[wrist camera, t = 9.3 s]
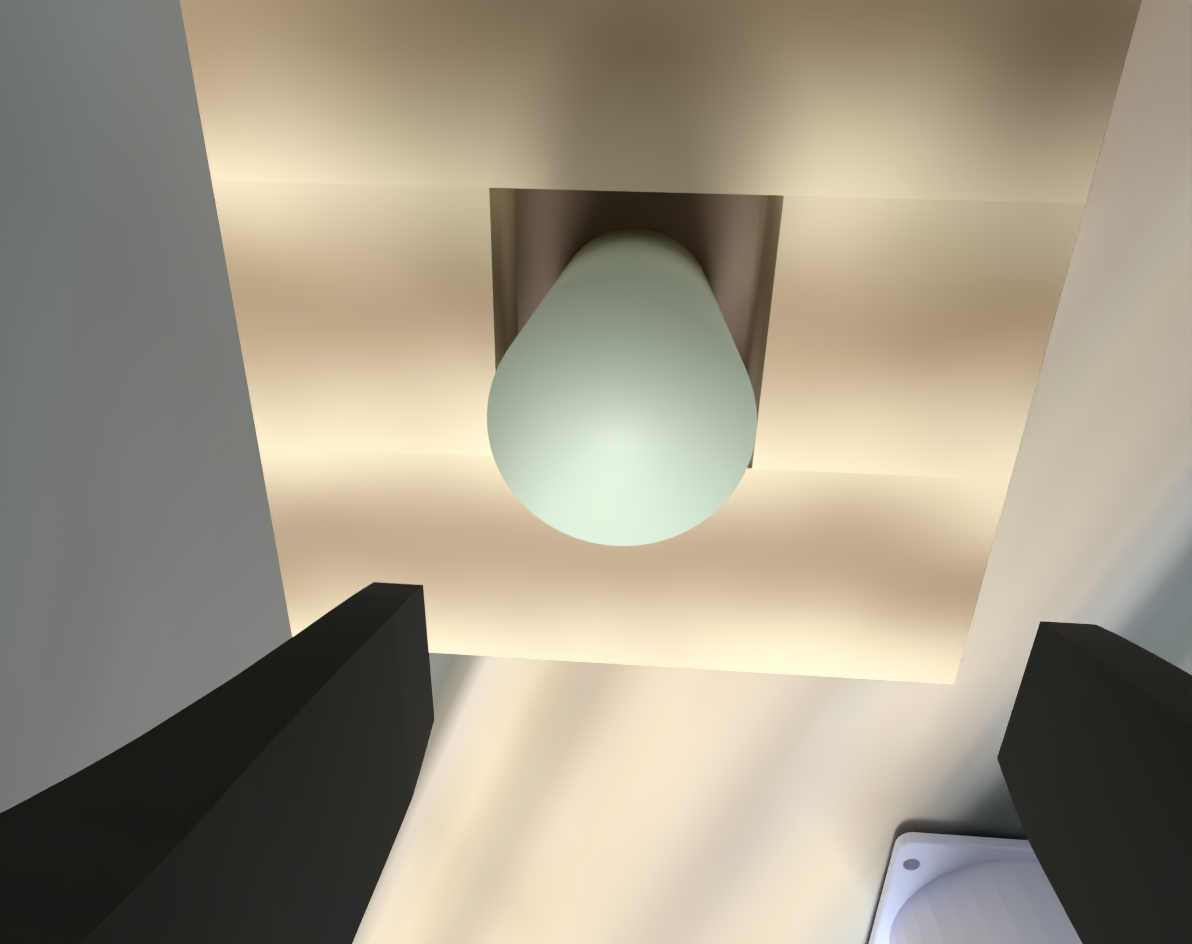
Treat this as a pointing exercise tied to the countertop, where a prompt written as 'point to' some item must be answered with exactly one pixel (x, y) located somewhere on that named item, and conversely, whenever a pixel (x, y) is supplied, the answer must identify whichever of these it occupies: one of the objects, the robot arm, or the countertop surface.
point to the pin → (624, 396)
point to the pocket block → (729, 261)
